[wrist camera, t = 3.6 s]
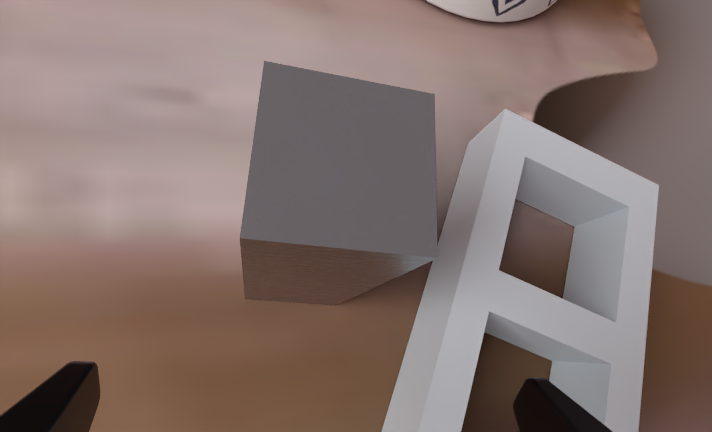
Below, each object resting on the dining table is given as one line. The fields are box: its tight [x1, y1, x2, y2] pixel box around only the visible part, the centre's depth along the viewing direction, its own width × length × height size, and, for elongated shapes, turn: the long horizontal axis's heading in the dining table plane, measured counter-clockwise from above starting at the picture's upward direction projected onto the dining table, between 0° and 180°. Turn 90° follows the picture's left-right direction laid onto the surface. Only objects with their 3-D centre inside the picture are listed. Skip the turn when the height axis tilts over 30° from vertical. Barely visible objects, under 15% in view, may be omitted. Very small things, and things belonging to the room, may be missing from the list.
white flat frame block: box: [382, 109, 659, 432], centre depth 19 cm, size 28×10×4 cm, turn 159°
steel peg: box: [240, 61, 438, 305], centre depth 15 cm, size 4×4×12 cm
